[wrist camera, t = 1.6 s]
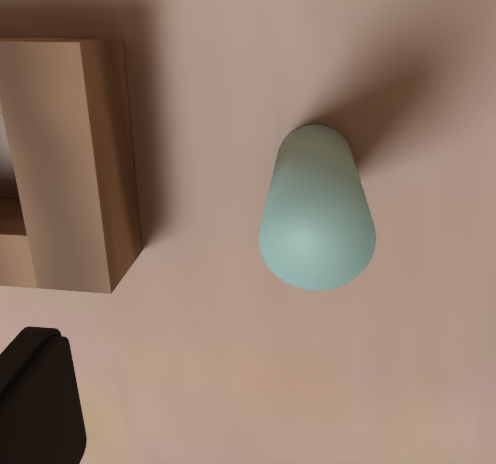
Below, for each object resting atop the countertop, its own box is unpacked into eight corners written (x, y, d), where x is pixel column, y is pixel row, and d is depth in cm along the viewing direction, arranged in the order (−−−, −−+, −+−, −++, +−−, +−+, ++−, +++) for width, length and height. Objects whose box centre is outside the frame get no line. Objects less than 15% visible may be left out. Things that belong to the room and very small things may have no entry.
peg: (355, 125, 24) (382, 188, 15) (348, 198, 26) (368, 294, 17) (278, 122, 25) (260, 182, 16) (275, 195, 27) (257, 286, 17)
